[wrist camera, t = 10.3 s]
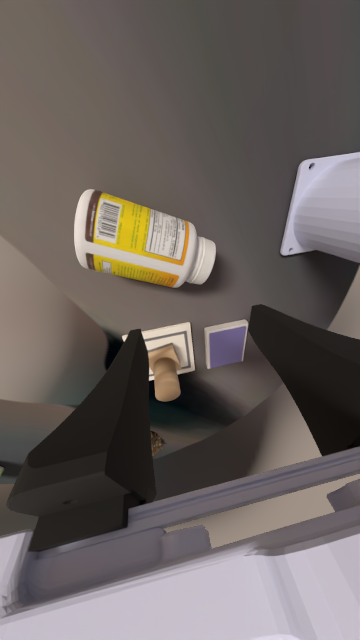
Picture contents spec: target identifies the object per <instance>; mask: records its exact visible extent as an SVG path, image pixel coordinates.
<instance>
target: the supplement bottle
mask: <svg viewBox="0 0 360 640" xmlns="http://www.w3.org/2000/svg"><path fill="white" fill-rule="evenodd" d="M74 241H75V250H76V254H77V258H78V260H79V262H80V264H81V265H82V266H83V267H84V268H86V269H90V270H94V271H98V272H103V273H108V274H113V275H117V276H122V277H127V278H131V279H136V280H141V281H145V282H150V283H154V284H159V285H164V286H168V287H173V288H177V287H179V286H181V285H182V284H183V283H184V282H185V281H186V282H189V283H195V284H203V283H204V282H205V281H206V280H207V278H208V277H209V275H210V273H211V271H212V268H213V265H214V261H215V255H216V247H215V244H214V242H213V241H210V240H208V239H205V238H203V237H199V236H197V234H196V229H195V227H194V225H193V224H192V223H190V222H188V221H185V220H182V219H179V218H176V217H173V216H170V215H167V214H164V213H161V212H158V211H156V210H153V209H150V208H147V207H144V206H141V205H138V204H135V203H132V202H129V201H126V200H123V199H121V198H118V197H115V196H112V195H109V194H106V193H103V192H101V191H97V190H93V189H89V190H86V191H85V192H84V193H83V194H82V195H81V197H80V200H79V202H78V206H77V210H76V216H75V226H74Z"/></svg>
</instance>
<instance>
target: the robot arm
mask: <svg viewBox="0 0 360 640" xmlns="http://www.w3.org/2000/svg"><path fill="white" fill-rule="evenodd" d="M310 164H311V169H310V170H309V166H310ZM290 248H291V249H290ZM289 249H290V251H289ZM313 250H319V251H322V252H325V253H328V254H332V255H335V256H338V257H341V258H344V259H348V260H351V261H354V262H357V263H360V152H359V153H352V154H345V155H338V156H331V157H324V158H317V159H310V160H305V161H303V162H302V163H301V164H300V165H299V168H298V172H297V177H296V181H295V186H294V191H293V195H292V200H291V204H290V209H289V214H288V218H287V223H286V227H285V232H284V236H283V241H282V246H281V250H280V253H281V254H282V255H284V256H285V255H291V254H296V253H302V252H307V251H313ZM248 331H249V333H250V335H251V336H252V338H253V340H254V342H255V343H256V345H257V346H258V348H259V349H260V350H261V352H262V353H263V354H264V356H265V357H266V358H267V360H268V361H269V362H270V363H271V365H272V366H273V367H274V369H275V370H276V371H277V373H278V374H279V376H280V377H281V379H282V381H283V382H284V384H285V385H286V387H287V389H288V390H289V392H290V394H291V396H292V397H293V399H294V401H295V403H296V405H297V406H298V408H299V410H300V412H301V414H302V416H303V417H304V420H305V421H306V423H307V425H308V427H309V429H310V432H311V434H312V435H313V438H314V440H315V442H316V444H317V446H318V448H319V451H320V453H321V455H322V457H319V458H315V459H311V460H308V461H304V462H300V463H296V464H293V465H289V466H285V467H282V468H278V469H274V470H271V471H267V472H263V473H259V474H256V475H252V476H248V477H244V478H241V479H237V480H233V481H230V482H226V483H222V484H219V485H215V486H211V487H207V488H204V489H200V490H197V491H192V492H189V493H185V494H181V495H178V496H174V497H170V498H166V499H163V500H159V501H155V502H153V500H154V498H155V496H156V487H155V479H154V478H155V477H154V468H153V457H152V447H151V435H150V422H149V404H148V398H149V356H148V350H147V347H146V344H145V341H144V338H143V335H142V332H141V329H136V330H131V331H130V332H129V334H128V336H127V338H126V340H125V342H124V344H123V345H122V347H121V349H120V351H119V353H118V354H117V356H116V358H115V359H114V361H113V363H112V364H111V366H110V367H109V369H108V370H107V372H106V373H105V375H104V376H103V377H102V379H101V380H100V381H99V383H98V384H97V385H96V387H95V388H94V389H93V390H92V391H91V393H90V394H89V395H88V396H87V397H86V398H85V400H84V401H83V402H82V403H81V404H80V405H79V406H78V407H77V408H76V409H75V410H74V411H73V412H72V413H71V414H70V415H69V416H68V417H67V418H66V419H65V420H64V421H63V422H62V423H61V424H60V425H59V426H58V427H57V428H56V429H55V430H54V431H53V432H52V433H51V434H50V435H48V436H47V437H46V438H45V439H44V440H43V441H42V442H41V443H40V444H39V445H37V446H36V447H35V448H34V449H33V450H32V451H31V452H29V454H28V456H27V458H26V460H25V462H24V464H23V466H22V468H21V471H20V473H19V475H18V477H17V480H16V482H15V484H14V487H13V489H12V491H11V493H10V496H9V498H8V500H7V507H8V508H9V509H10V510H12V511H15V512H19V513H24V514H29V515H34V516H38V517H39V519H38V522H37V525H36V528H35V529H28V530H23V531H19V532H15V533H11V534H8V535H4V536H0V640H360V479H358V480H355V481H352V482H350V483H347V484H346V485H345V486H343V487H342V488H340V489H338V490H336V491H333V492H331V493H329V494H327V498H328V500H329V502H330V503H331V505H332V507H333V508H334V510H335V512H334V513H330V514H327V515H324V516H320V517H317V518H313V519H310V520H306V521H303V522H300V523H297V524H293V525H290V526H286V527H283V528H280V529H277V530H273V531H270V532H266V533H263V534H260V535H256V536H253V537H250V538H246V539H243V540H240V541H237V542H233V543H230V544H226V545H223V546H220V547H216V548H213V549H212V548H211V544H210V539H209V533H208V531H207V530H206V529H205V527H204V526H203V525H199V526H194V527H190V528H184V529H180V530H175V531H171V532H168V533H167V532H166V531H165V530H163V529H164V528H167V527H171V526H174V525H178V524H182V523H185V522H189V521H192V520H196V519H199V518H203V517H207V516H210V515H214V514H217V513H221V512H224V511H228V510H231V509H235V508H239V507H242V506H245V505H249V504H253V503H256V502H260V501H264V500H267V499H271V498H274V497H278V496H281V495H285V494H288V493H292V492H296V491H299V490H303V489H306V488H310V487H313V486H317V485H320V484H324V483H328V482H331V481H335V480H338V479H342V478H345V477H349V476H353V475H356V474H360V340H359V339H355V338H351V337H347V336H343V335H340V334H337V333H334V332H330V331H327V330H324V329H321V328H318V327H315V326H313V325H310V324H307V323H305V322H302V321H300V320H297V319H295V318H293V317H290V316H288V315H286V314H283V313H281V312H279V311H276V310H274V309H272V308H270V307H267V306H265V305H262V304H260V305H255V306H252V309H251V316H250V323H249V329H248Z"/></svg>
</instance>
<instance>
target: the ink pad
mask: <svg viewBox="0 0 360 640" xmlns="http://www.w3.org/2000/svg"><path fill="white" fill-rule="evenodd" d="M247 329H248V322H247V321H246V320H245V319H244V320H240V321H235V322H230V323H225V324H220V325H215V326H210V327H205V328H204V330H205V352H206V366H207V368H208V369H209V368H214V367H218V366H223V365H227V364H232V363H236V362H241V361H243V356H244V349H245V342H246V335H247Z"/></svg>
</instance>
